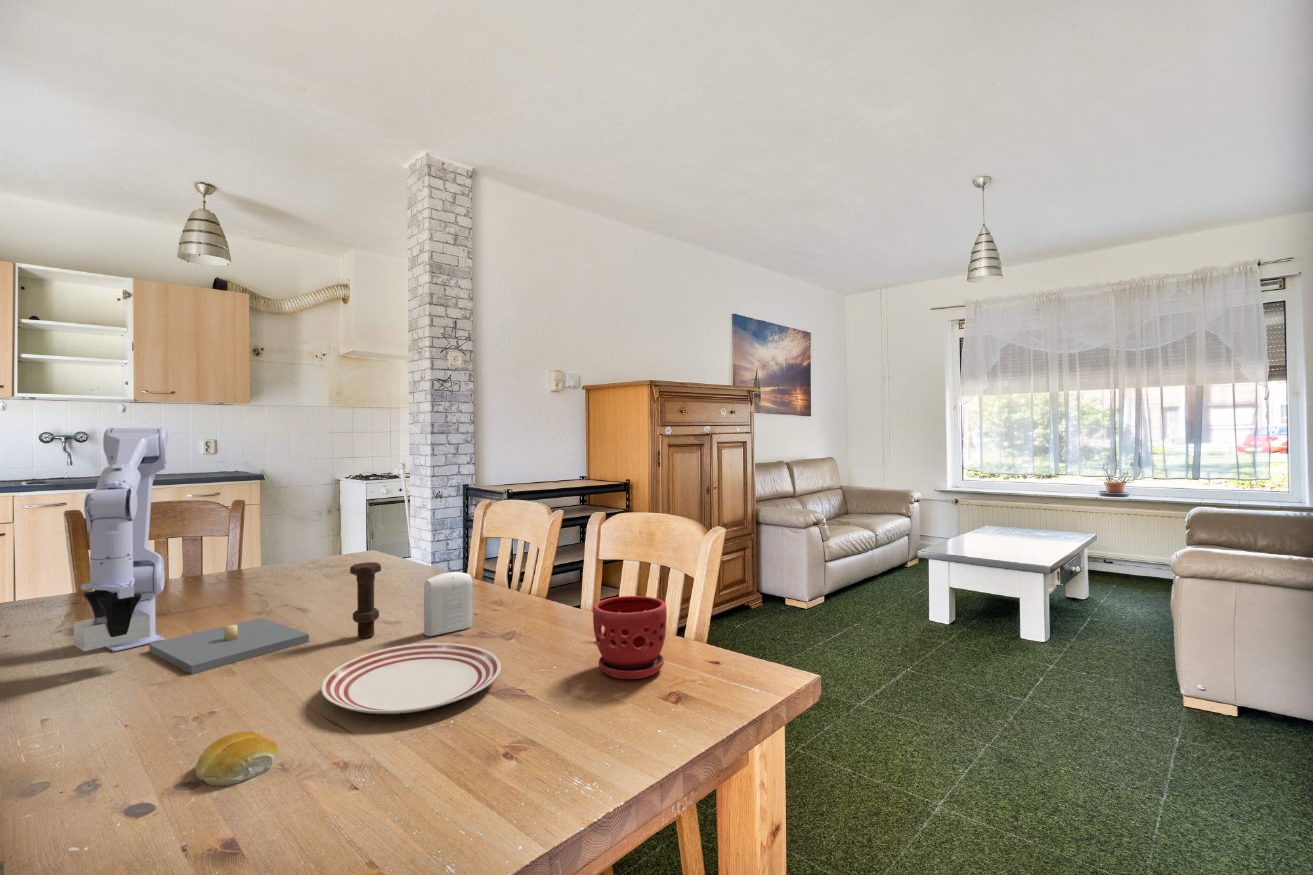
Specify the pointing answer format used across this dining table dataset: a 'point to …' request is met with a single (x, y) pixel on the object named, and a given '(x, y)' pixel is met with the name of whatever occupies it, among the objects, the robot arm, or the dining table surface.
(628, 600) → the plant pot
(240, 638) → the pin board
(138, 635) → the block with square hole
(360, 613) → the bolt
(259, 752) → the bread roll
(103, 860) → the dining table surface
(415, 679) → the dinner plate
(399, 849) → the dining table surface
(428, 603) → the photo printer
